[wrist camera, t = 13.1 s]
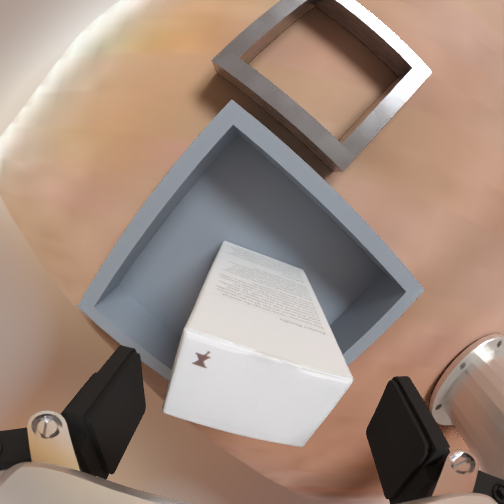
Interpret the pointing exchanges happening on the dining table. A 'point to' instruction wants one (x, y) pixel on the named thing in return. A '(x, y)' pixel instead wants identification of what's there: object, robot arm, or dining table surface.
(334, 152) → the collar
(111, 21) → the dining table surface
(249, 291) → the skincare box
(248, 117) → the bin
